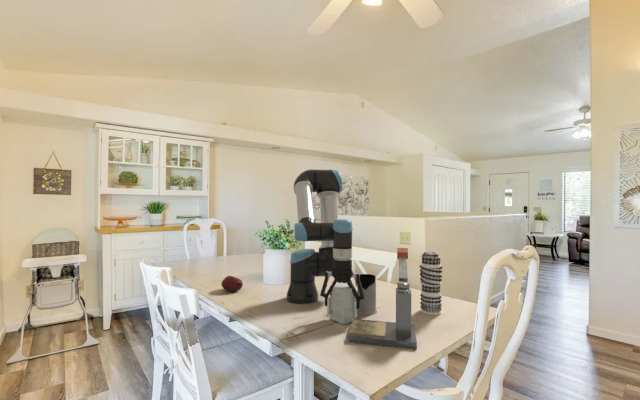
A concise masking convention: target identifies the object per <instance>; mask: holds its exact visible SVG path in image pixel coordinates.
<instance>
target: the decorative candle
mask: <svg viewBox="0 0 640 400" xmlns="http://www.w3.org/2000/svg"><path fill="white" fill-rule="evenodd" d="M420 257H421V265H418V266H419V268H420V270H419V272H420V273H419V276H420V279H419V280H420V285H421V289H420V290H421V293H420V295H419V296H420V299H419V300H420V306H419V307H420V312H421V313H423V314H425V315H429V316H430V315H431V316H438V315H441V314H442V310H443V309H442V306H443V305H442V303H441V302H442V295H441V287H442V283H441V282H442V281H443V279H442V278H443V275H441V274H442V273H443V270H442V269H443V266H441V265H442V264H441V255H440V254H439V253H438V252H435V251H424V252H423V253H422V254H421V255H420Z"/></svg>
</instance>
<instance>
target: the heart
mask: <svg viewBox="0 0 640 400" xmlns="http://www.w3.org/2000/svg"><path fill="white" fill-rule="evenodd" d="M243 286H244V283H243V280H241V278H238V277H235V276H232V275H227V276H226V277H224V278H223V280H222V281H221V287H222V289H224V290H225V291H226V292H229V293H235V291H236V292H238V291H240V290H241V289H242V288H243Z"/></svg>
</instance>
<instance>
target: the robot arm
mask: <svg viewBox="0 0 640 400" xmlns="http://www.w3.org/2000/svg"><path fill="white" fill-rule="evenodd" d="M342 191H343V179H342V175H341V172H340V171H339V170H337V169H336V170H335V169H307V170H304V171H302V172H301V173H300V174H298V176H297V177H296V179H295V180H294V182H293V193H294V194H295V197H296V209H297V222H296V223H294V225H293V226H294V227H293V228H294V230H293V231H294V232H293V233H294V240H295V241H298V242H316V241H317V242H321V245H320V246H319V247H318V251H316V250H315V249H314V248H303V249H297V250H294V251H293V252H292V253H291V254H290V260H289V264H290V276H289V277H290V280H289V281H290V282H289V286H288V290H287V292H286V300H287V301H288V302H290V303H293V304H294V303H295V304H309V303H315V302H316V301H318V300H319V296H320V297H322V298H324V307H327V308H326V316H330V293H331V291H332V289H333V287H334V286H335V285H337V283H338V284H347V286H349V287H350V288H352V293H353V295H354V296H355V298H356V299H355V301H354V318H355V319H357V317H358V313H357V309H359V307H360V300H362V299H364V297H365V296H364V292H363V288H362V285H361V281H360V275H361V273H360V272H353V260H352V258H353V222H352V220H351V219H346V218H345V219H344V218H343V219H341V218H340V219H338V197H339V196H340V193H341V192H342ZM312 193H316V196H317V197H318V198H319V207H320V222H316V217H315V216H316V215H315V207H314V200H313V194H312ZM352 276H354V278H355V279H356V282H357V286H358V289H359V293H360V296H359V294H358V293H357V288H356V286H355V284H354V283H353V282H352V280H351V279H352V278H353V277H352ZM316 277H319V278H320V277H324V280H323V284H322V288H321V291H320V294H319V292H318V290H317V286H316V281H315V279H316ZM330 277H333V281H332V282H331V284H330V286H329V288H328V290H327V285H328V283H329V281H330ZM354 278H353V279H354ZM355 279H354V280H355ZM354 288H355V289H354ZM326 290H327V291H326Z"/></svg>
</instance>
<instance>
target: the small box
mask: <svg viewBox="0 0 640 400" xmlns="http://www.w3.org/2000/svg"><path fill="white" fill-rule="evenodd" d="M354 289H356V287H355V288H354ZM329 297H330V315H329V320H332V321H334V322H337V323H339V324H341V325H346V324H349V323H352V322H353V320H354V319H356V318H354V301H355V296H354V295H353V293H352V288H350V287H349V286H348V285H346V284H344V283H338V284H335V286H334V287H333V289H332V291H331V293H330V294H329Z"/></svg>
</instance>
